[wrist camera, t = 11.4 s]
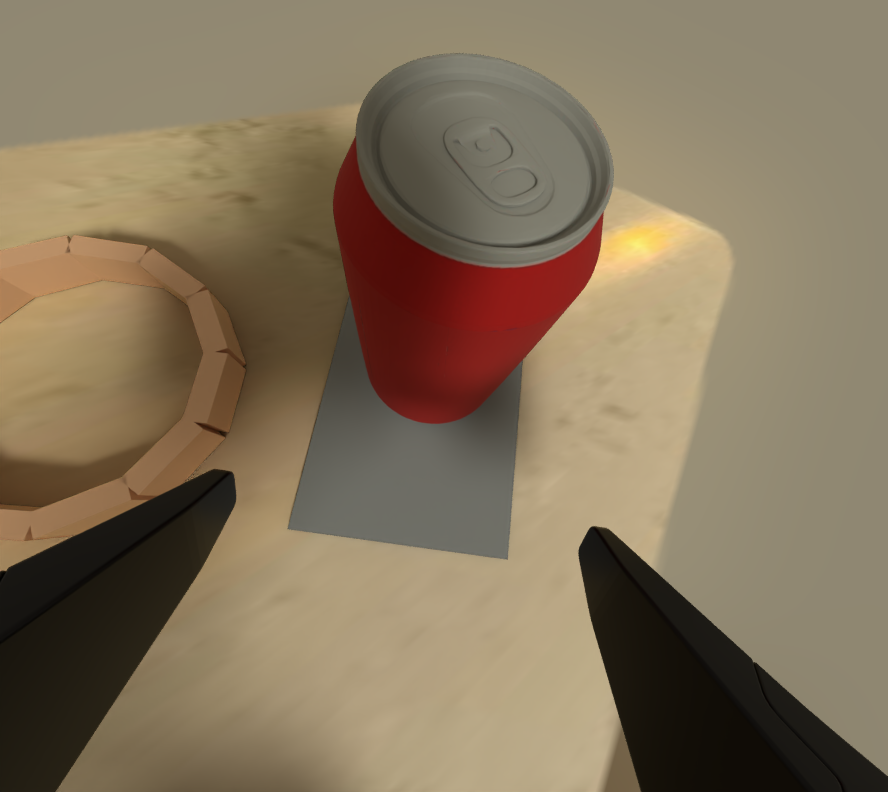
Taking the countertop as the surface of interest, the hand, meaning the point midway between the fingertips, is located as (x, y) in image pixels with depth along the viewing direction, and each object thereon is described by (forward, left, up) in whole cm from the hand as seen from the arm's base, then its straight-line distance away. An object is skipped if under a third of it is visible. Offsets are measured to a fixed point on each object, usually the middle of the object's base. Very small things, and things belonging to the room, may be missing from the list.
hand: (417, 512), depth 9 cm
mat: (+3, -7, -8) cm, 11 cm away
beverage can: (+3, -6, -8) cm, 11 cm away
